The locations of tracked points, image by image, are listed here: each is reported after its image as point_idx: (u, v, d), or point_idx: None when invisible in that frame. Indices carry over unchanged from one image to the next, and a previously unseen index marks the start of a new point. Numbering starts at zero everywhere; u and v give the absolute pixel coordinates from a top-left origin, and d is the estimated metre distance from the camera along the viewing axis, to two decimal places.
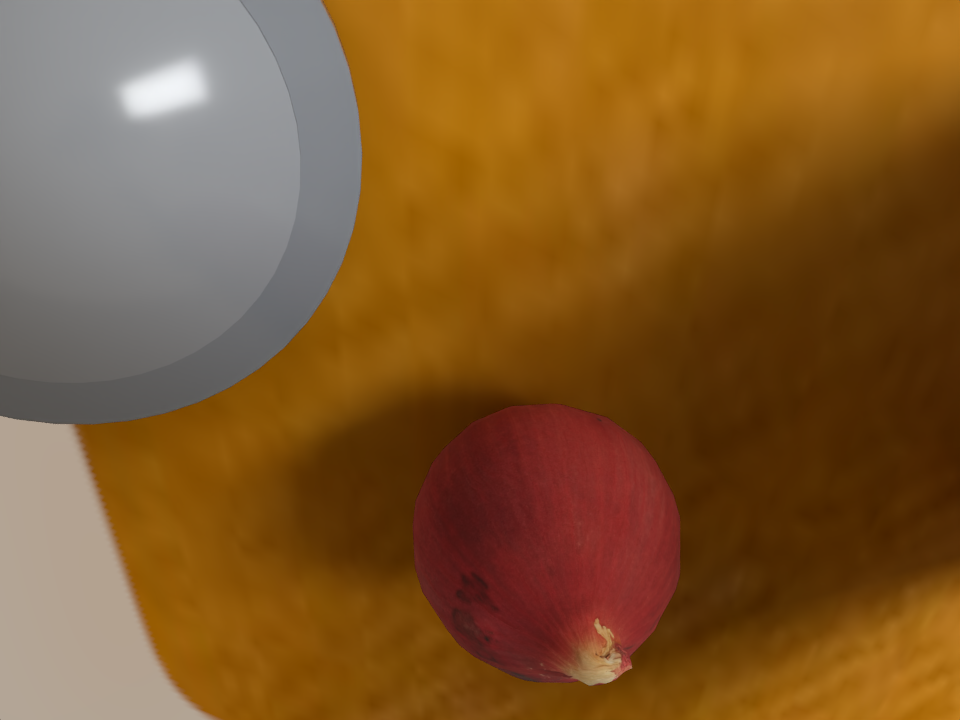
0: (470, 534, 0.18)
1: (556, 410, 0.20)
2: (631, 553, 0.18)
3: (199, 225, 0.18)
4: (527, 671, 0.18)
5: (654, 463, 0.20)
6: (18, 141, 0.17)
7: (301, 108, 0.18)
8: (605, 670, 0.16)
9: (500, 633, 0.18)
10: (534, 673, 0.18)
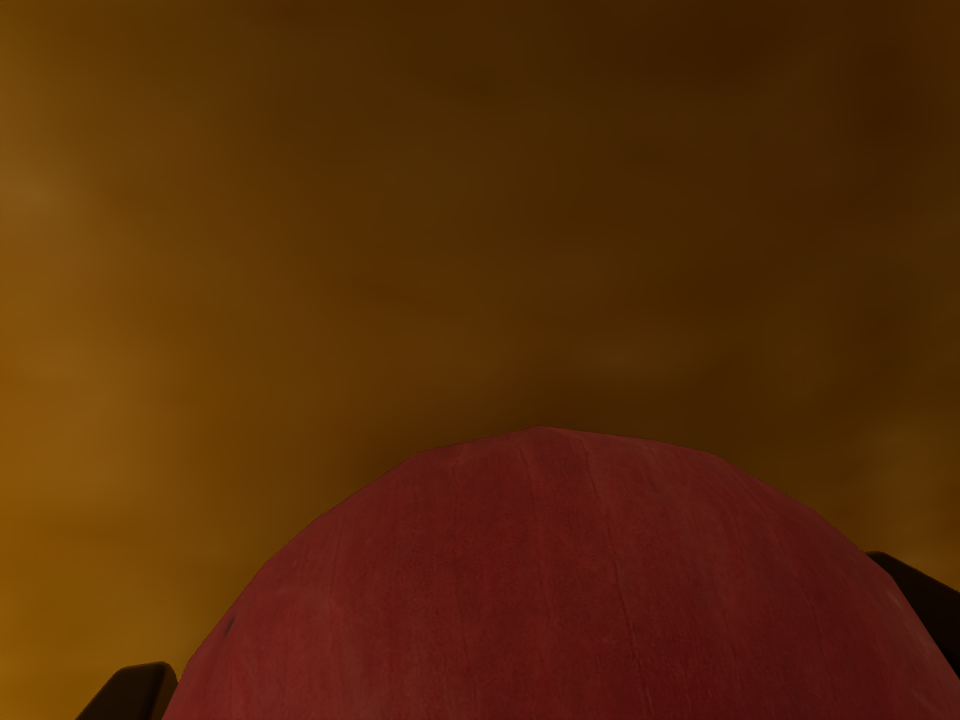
0: None
1: None
2: None
3: None
4: None
5: (390, 588, 0.05)
6: None
7: None
8: None
9: None
10: None
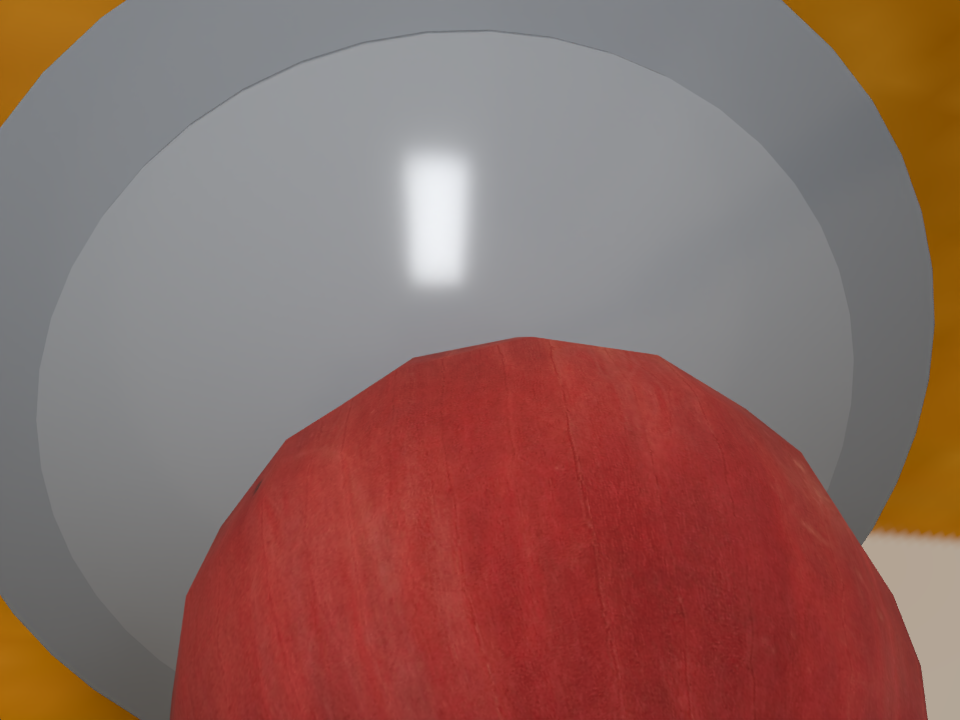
0: None
1: None
2: None
3: (658, 275, 0.10)
4: None
5: (390, 439, 0.06)
6: None
7: (530, 18, 0.09)
8: None
9: None
10: None
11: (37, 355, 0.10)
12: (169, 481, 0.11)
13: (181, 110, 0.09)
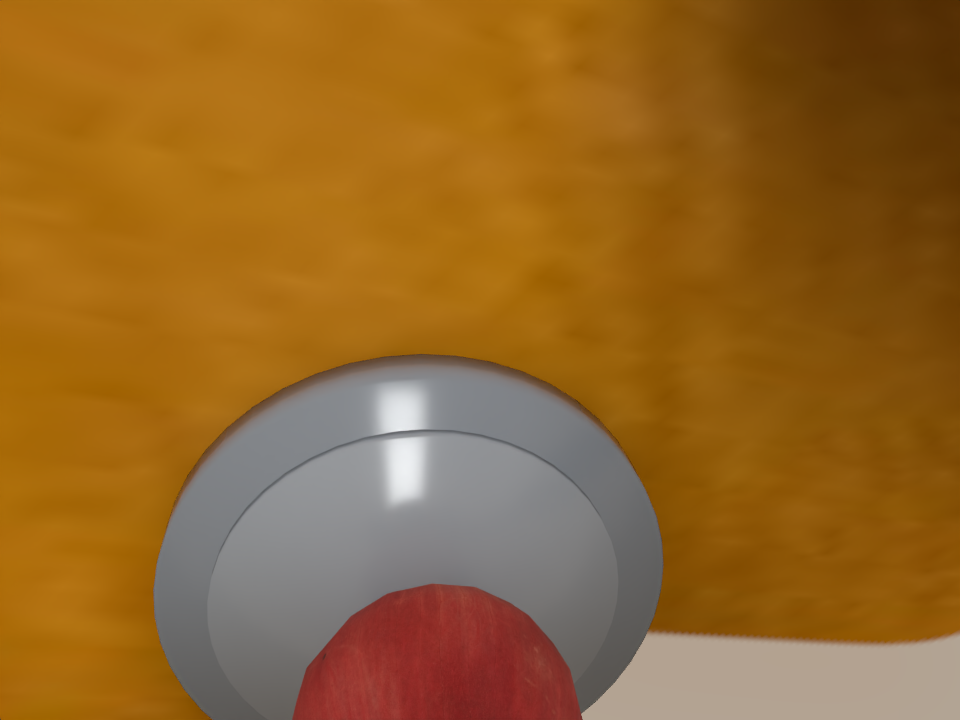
0: None
1: (300, 688, 0.18)
2: None
3: (510, 527, 0.21)
4: None
5: (376, 647, 0.17)
6: None
7: (442, 424, 0.20)
8: None
9: None
10: None
11: (208, 571, 0.20)
12: (269, 627, 0.21)
13: (282, 467, 0.20)
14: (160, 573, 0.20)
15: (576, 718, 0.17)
